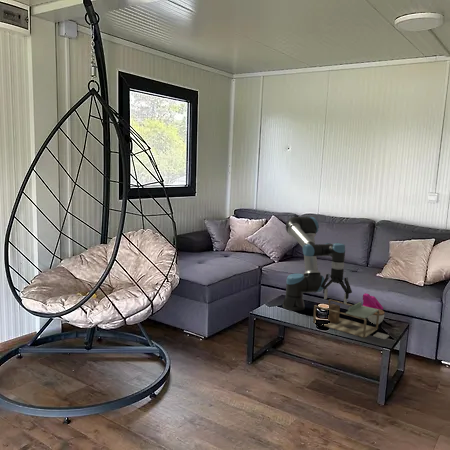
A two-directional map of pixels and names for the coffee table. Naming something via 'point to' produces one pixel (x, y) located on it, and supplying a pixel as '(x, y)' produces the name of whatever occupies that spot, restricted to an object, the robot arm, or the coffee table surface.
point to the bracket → (371, 302)
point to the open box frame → (349, 323)
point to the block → (334, 313)
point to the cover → (361, 310)
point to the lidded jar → (373, 317)
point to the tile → (381, 335)
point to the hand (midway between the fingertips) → (335, 301)
